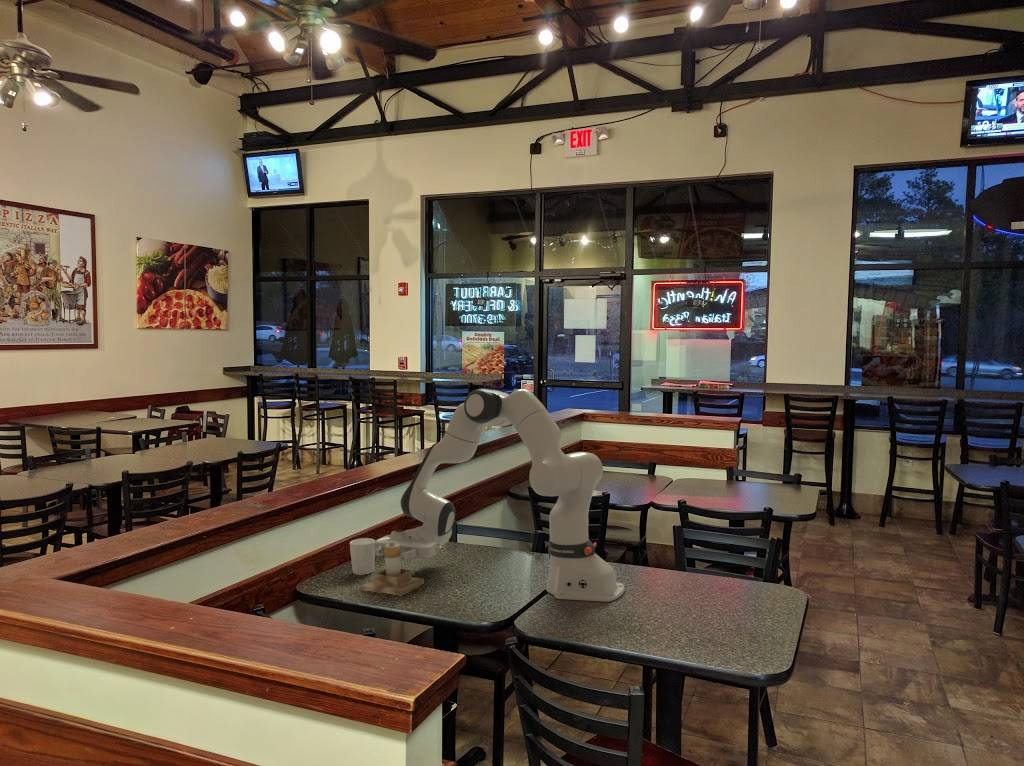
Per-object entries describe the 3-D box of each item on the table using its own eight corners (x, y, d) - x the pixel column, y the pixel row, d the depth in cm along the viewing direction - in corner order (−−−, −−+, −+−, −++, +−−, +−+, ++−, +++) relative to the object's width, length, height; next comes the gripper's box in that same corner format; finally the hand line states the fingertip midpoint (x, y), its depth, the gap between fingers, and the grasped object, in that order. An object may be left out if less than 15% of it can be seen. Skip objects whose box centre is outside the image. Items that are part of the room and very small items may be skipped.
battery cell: (404, 580, 213) (402, 541, 213) (395, 585, 209) (393, 545, 209) (391, 578, 215) (390, 539, 215) (382, 583, 211) (381, 543, 211)
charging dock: (424, 583, 215) (423, 568, 215) (401, 596, 204) (400, 581, 204) (386, 578, 221) (385, 564, 221) (361, 590, 210) (361, 575, 210)
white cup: (348, 570, 230) (347, 540, 230) (372, 567, 234) (371, 536, 233) (354, 577, 223) (352, 545, 223) (378, 573, 226) (377, 542, 226)
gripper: (445, 556, 219) (420, 568, 207) (390, 549, 228) (363, 561, 216) (444, 535, 219) (419, 547, 207) (389, 530, 228) (362, 541, 216)
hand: (390, 554), depth 211 cm, fingers open, 8 cm apart
